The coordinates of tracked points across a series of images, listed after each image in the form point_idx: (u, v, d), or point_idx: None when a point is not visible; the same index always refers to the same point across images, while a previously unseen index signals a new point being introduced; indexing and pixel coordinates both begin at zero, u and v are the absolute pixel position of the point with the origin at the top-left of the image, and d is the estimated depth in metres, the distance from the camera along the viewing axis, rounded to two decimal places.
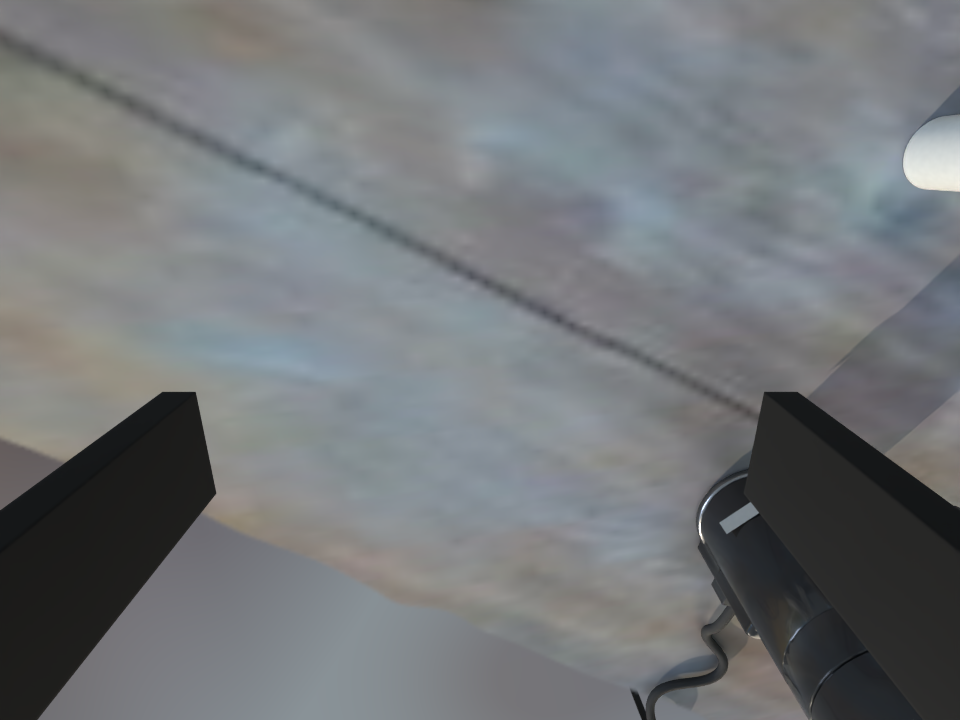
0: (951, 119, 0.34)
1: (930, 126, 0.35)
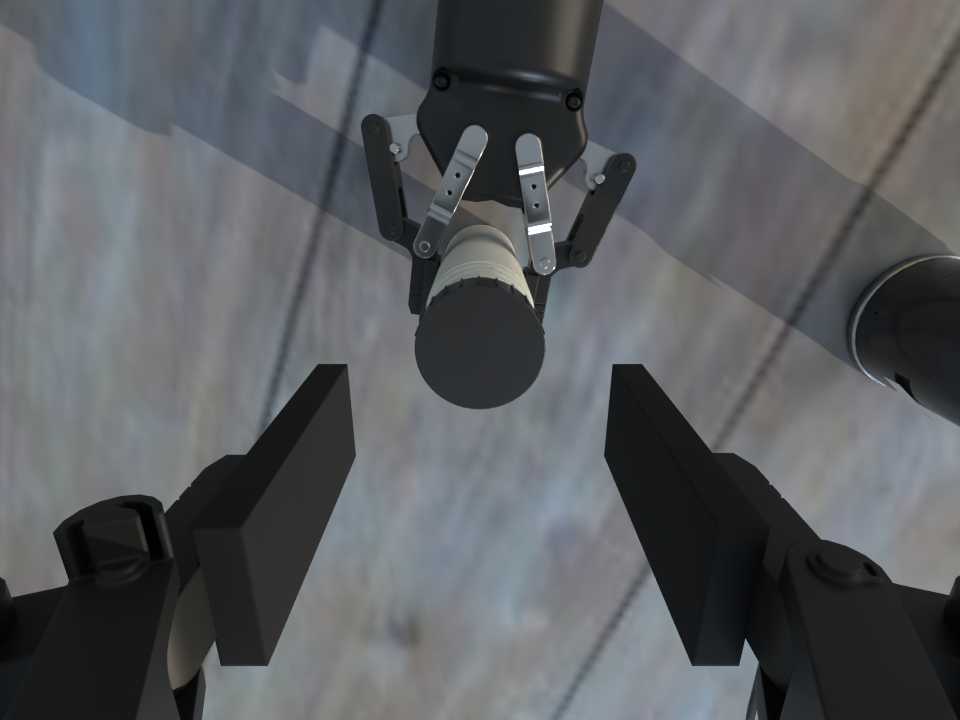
0: None
1: None
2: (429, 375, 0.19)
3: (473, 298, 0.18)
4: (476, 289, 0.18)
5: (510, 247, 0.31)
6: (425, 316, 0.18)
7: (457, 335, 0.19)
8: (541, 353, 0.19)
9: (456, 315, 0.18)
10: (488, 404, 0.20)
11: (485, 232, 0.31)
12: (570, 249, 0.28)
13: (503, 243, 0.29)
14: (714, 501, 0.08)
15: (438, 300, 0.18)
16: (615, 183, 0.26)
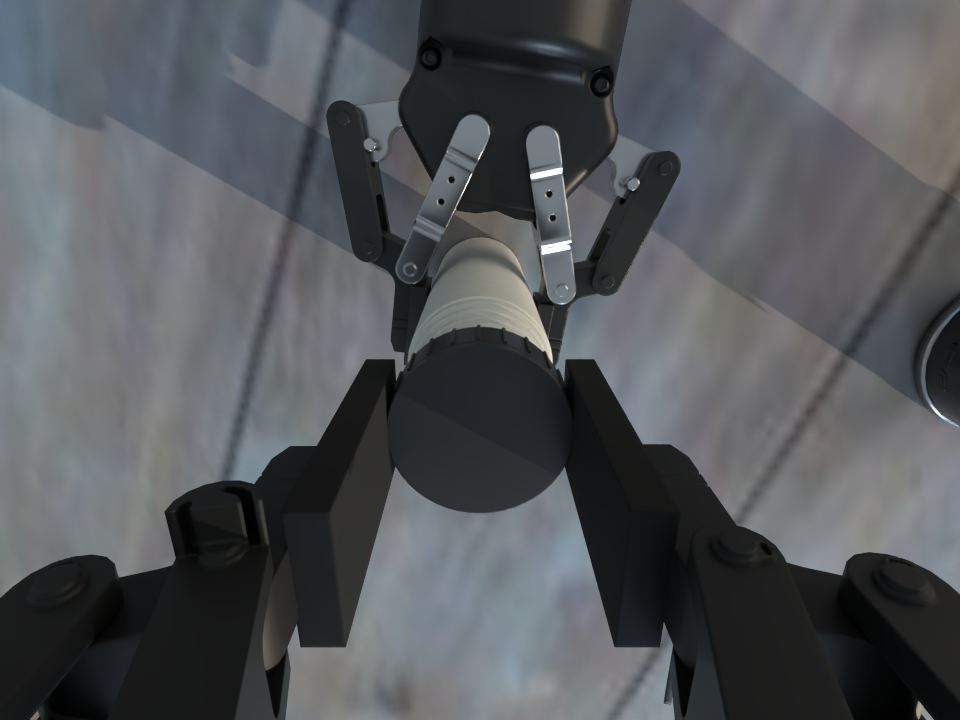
0: None
1: None
2: (407, 468, 0.13)
3: (470, 363, 0.12)
4: (475, 350, 0.12)
5: (517, 267, 0.25)
6: (400, 388, 0.13)
7: (447, 414, 0.13)
8: (568, 439, 0.13)
9: (445, 386, 0.13)
10: (492, 507, 0.14)
11: (486, 249, 0.25)
12: (594, 272, 0.22)
13: (509, 263, 0.24)
14: (632, 488, 0.09)
15: (419, 365, 0.12)
16: (653, 189, 0.21)
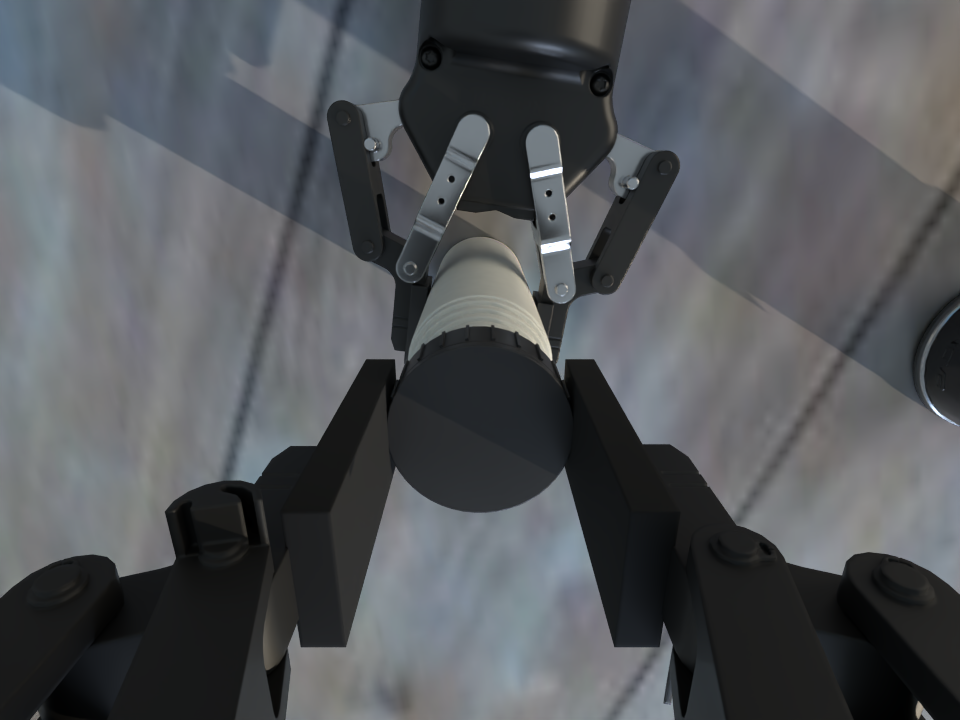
0: None
1: None
2: (529, 490, 0.14)
3: (407, 455, 0.13)
4: (393, 453, 0.13)
5: (517, 266, 0.25)
6: (446, 505, 0.14)
7: (463, 465, 0.13)
8: (466, 351, 0.12)
9: (436, 471, 0.13)
10: (563, 408, 0.13)
11: (486, 248, 0.25)
12: (593, 271, 0.22)
13: (509, 262, 0.24)
14: (632, 488, 0.09)
15: (422, 492, 0.14)
16: (652, 189, 0.21)
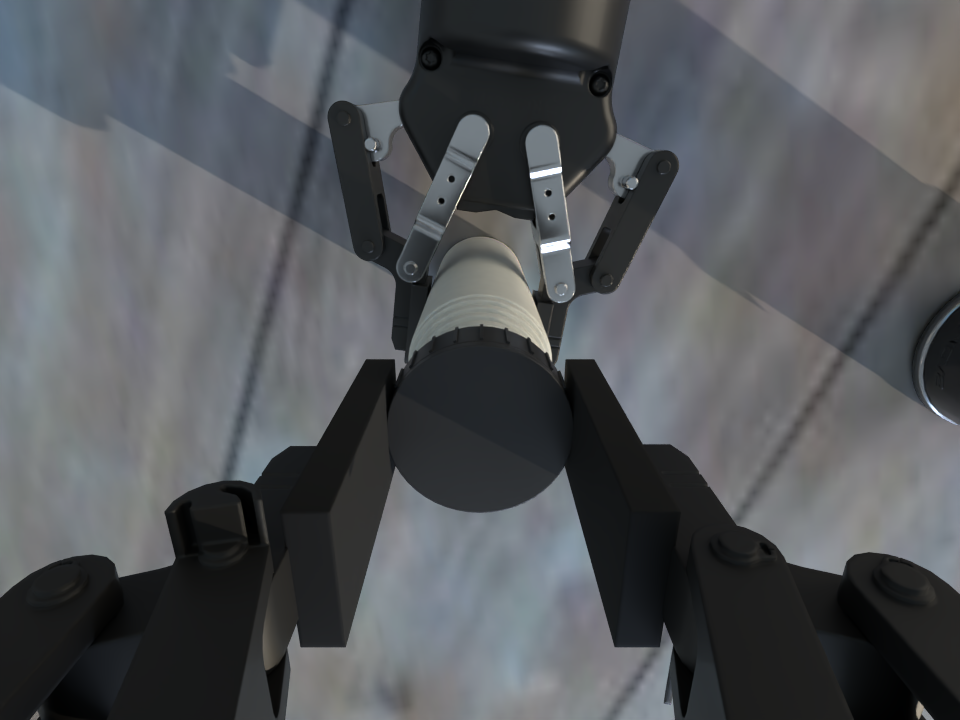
0: None
1: None
2: (537, 376, 0.12)
3: (515, 492, 0.14)
4: (516, 503, 0.14)
5: (517, 266, 0.25)
6: (569, 450, 0.13)
7: (518, 443, 0.13)
8: (397, 460, 0.13)
9: (530, 465, 0.13)
10: (434, 365, 0.12)
11: (486, 247, 0.25)
12: (593, 271, 0.22)
13: (509, 262, 0.24)
14: (632, 488, 0.09)
15: (558, 472, 0.14)
16: (651, 189, 0.21)
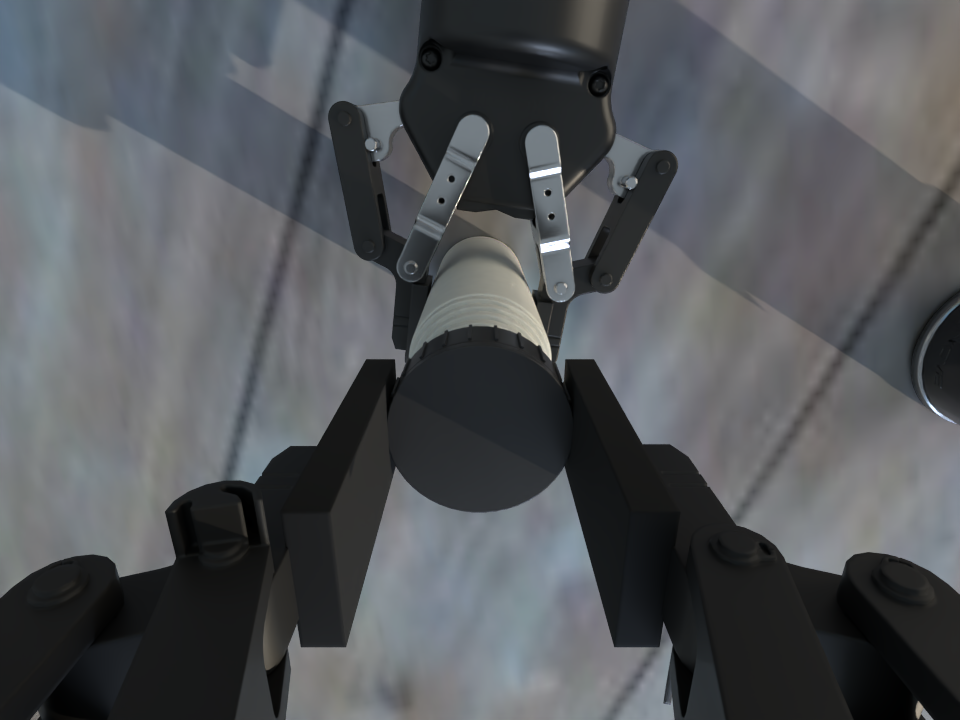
0: None
1: None
2: (405, 396, 0.13)
3: (542, 389, 0.13)
4: (556, 386, 0.13)
5: (517, 266, 0.25)
6: (482, 347, 0.12)
7: (482, 398, 0.13)
8: (522, 499, 0.14)
9: (507, 382, 0.13)
10: (417, 483, 0.13)
11: (486, 247, 0.26)
12: (592, 270, 0.22)
13: (508, 262, 0.24)
14: (632, 488, 0.09)
15: (512, 349, 0.12)
16: (650, 188, 0.21)
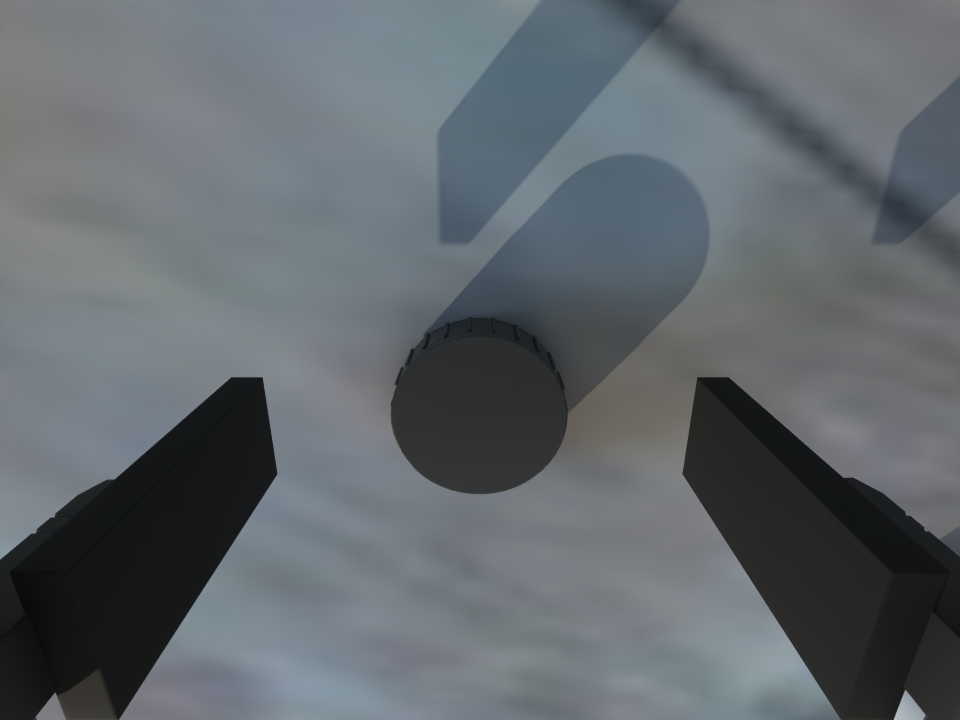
0: None
1: None
2: (409, 383, 0.14)
3: (537, 377, 0.13)
4: (550, 374, 0.13)
5: None
6: (480, 337, 0.13)
7: (481, 385, 0.14)
8: (518, 482, 0.15)
9: (504, 370, 0.13)
10: (420, 466, 0.14)
11: None
12: None
13: None
14: (874, 540, 0.07)
15: (509, 339, 0.13)
16: None
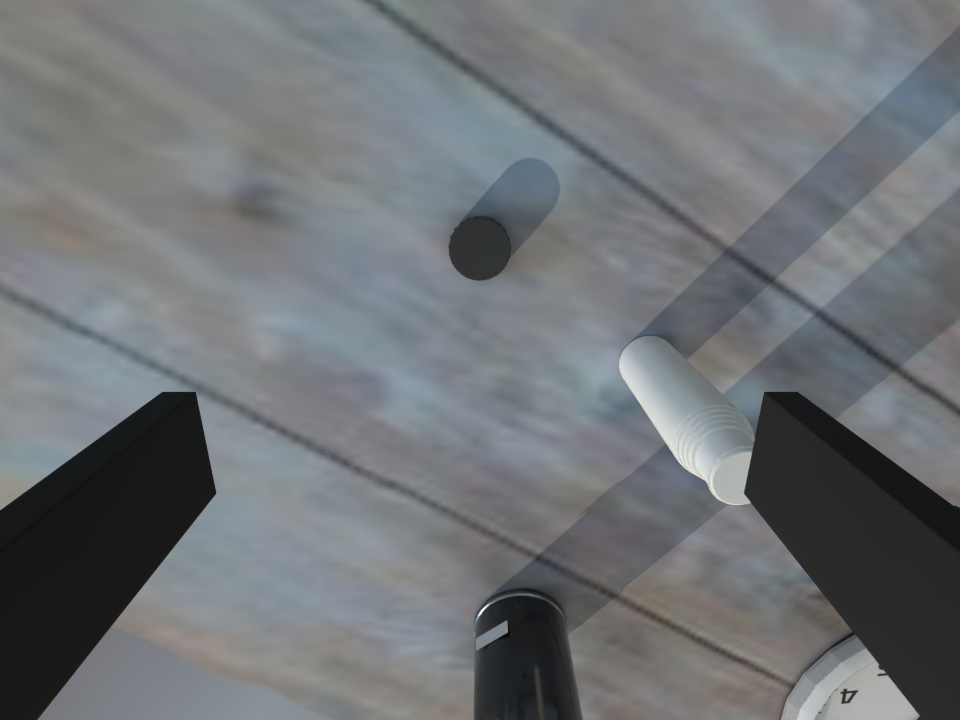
0: (643, 345, 0.42)
1: (633, 345, 0.43)
2: (455, 236, 0.40)
3: (499, 233, 0.40)
4: (503, 232, 0.40)
5: None
6: (480, 219, 0.39)
7: (480, 237, 0.40)
8: (493, 275, 0.41)
9: (488, 231, 0.40)
10: (458, 268, 0.40)
11: None
12: None
13: None
14: None
15: (489, 220, 0.39)
16: None
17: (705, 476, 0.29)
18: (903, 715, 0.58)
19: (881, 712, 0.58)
